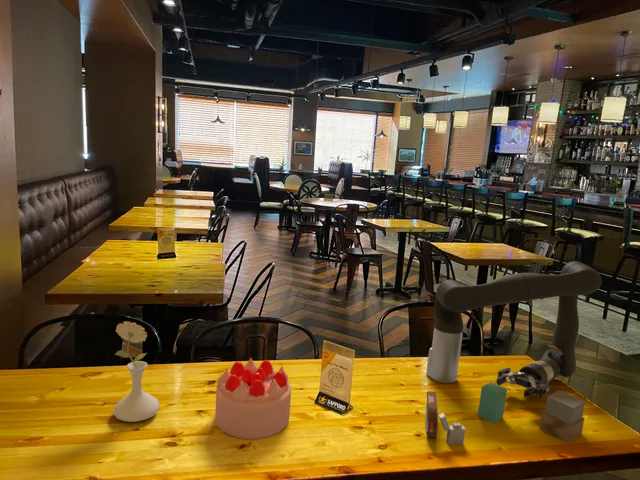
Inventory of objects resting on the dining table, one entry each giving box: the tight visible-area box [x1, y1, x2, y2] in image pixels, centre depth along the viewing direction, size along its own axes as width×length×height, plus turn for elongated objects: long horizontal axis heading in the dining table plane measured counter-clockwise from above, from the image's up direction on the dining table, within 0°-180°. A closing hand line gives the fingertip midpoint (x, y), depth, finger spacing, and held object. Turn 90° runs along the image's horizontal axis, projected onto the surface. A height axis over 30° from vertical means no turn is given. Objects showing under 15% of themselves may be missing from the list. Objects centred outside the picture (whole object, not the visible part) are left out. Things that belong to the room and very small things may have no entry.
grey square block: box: [544, 389, 586, 426], centre depth 127 cm, size 7×7×5 cm
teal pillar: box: [477, 381, 508, 425], centre depth 133 cm, size 5×5×9 cm
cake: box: [214, 357, 292, 441], centre depth 123 cm, size 20×20×14 cm
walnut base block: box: [539, 411, 585, 445], centre depth 128 cm, size 8×8×5 cm
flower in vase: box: [113, 321, 161, 423], centre depth 120 cm, size 13×11×25 cm
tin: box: [425, 390, 439, 438], centre depth 125 cm, size 15×3×8 cm, turn 168°
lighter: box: [438, 412, 466, 446], centre depth 118 cm, size 7×2×8 cm, turn 98°
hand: (511, 387), depth 139 cm, fingers open, 8 cm apart
